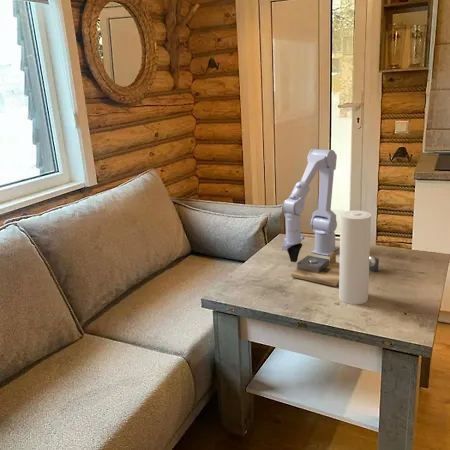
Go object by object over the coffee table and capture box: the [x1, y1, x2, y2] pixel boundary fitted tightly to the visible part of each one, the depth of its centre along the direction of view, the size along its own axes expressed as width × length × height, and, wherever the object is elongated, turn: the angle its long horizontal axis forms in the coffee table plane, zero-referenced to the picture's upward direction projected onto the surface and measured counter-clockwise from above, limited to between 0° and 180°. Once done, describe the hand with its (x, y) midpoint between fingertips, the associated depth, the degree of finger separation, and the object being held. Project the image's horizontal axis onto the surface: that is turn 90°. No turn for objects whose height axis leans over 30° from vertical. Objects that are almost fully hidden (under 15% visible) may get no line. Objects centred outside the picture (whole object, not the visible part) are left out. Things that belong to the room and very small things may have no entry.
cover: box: [296, 255, 329, 274], centre depth 175 cm, size 9×9×3 cm
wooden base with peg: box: [290, 251, 340, 287], centre depth 172 cm, size 18×18×5 cm
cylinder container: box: [338, 209, 372, 306], centre depth 149 cm, size 9×9×30 cm
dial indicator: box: [369, 255, 380, 273], centre depth 172 cm, size 3×4×6 cm
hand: (293, 261), depth 180 cm, fingers closed
